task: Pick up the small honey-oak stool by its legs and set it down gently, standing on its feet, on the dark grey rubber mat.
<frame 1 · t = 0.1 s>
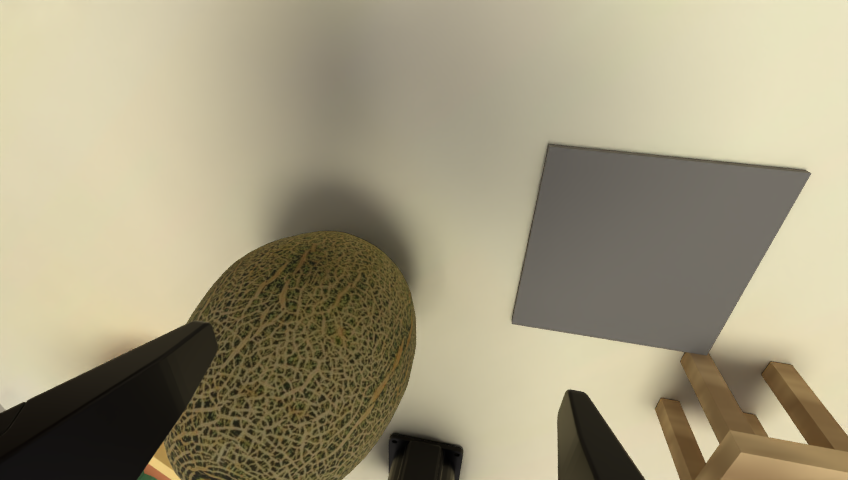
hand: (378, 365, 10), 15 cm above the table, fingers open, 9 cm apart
fruit: (354, 269, 28), on the table
mat: (634, 257, 23), on the table
stool: (718, 388, 27), on the table
potted cactus: (187, 400, 40), on the table
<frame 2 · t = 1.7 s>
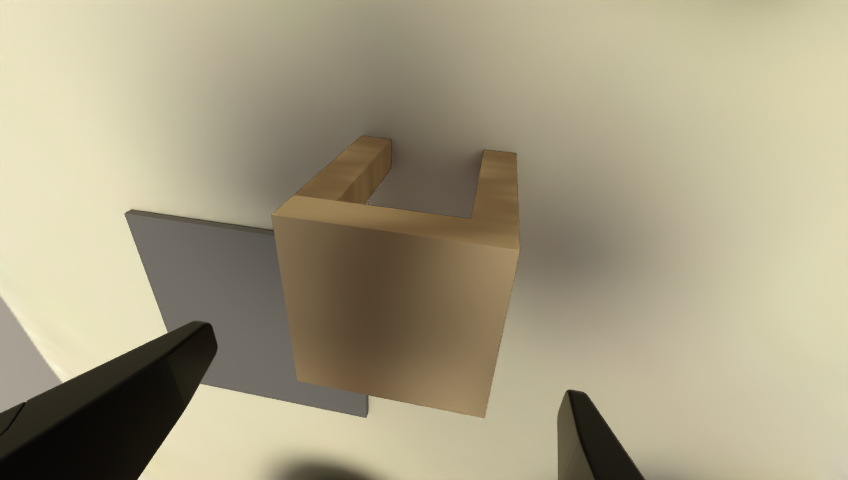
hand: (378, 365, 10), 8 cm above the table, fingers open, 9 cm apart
mat: (261, 321, 22), on the table
stool: (431, 214, 17), on the table
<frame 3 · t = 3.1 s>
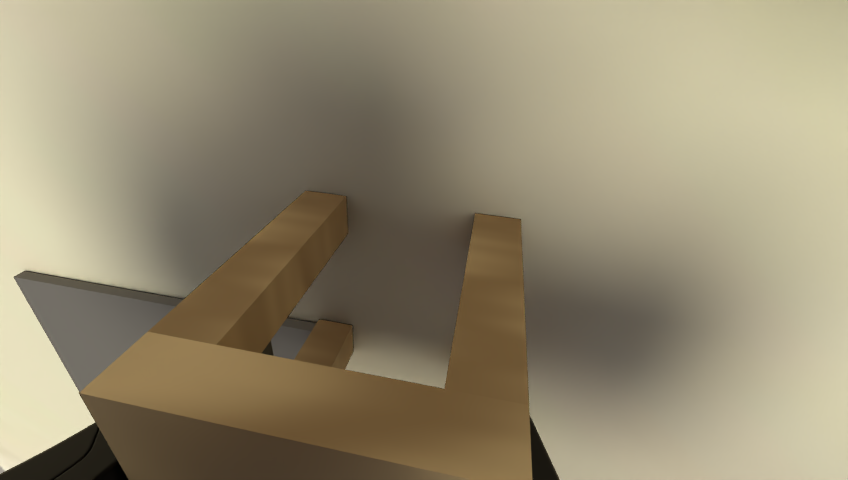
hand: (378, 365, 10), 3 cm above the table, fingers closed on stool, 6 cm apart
mat: (201, 402, 18), on the table
stool: (405, 291, 12), on the table, touching gripper, mat
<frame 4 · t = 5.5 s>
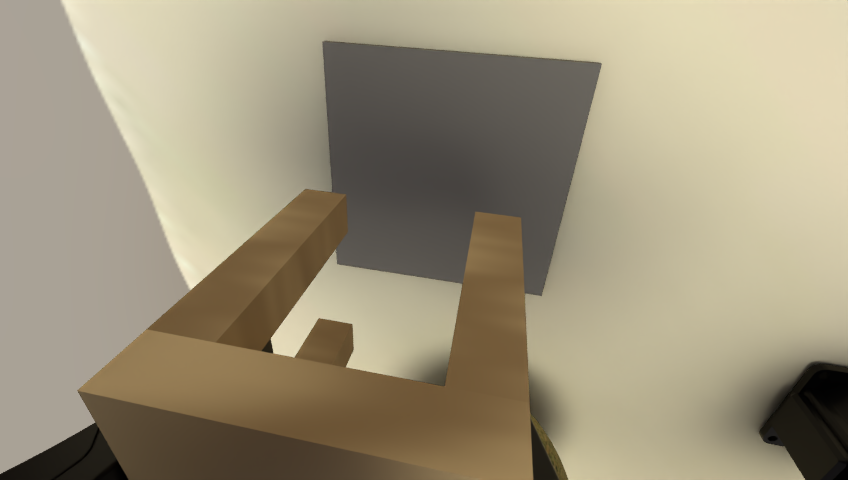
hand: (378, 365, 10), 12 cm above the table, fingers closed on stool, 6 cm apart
fruit: (481, 406, 29), on the table
mat: (445, 180, 21), on the table
stool: (405, 290, 12), point 9 cm above the table, touching gripper
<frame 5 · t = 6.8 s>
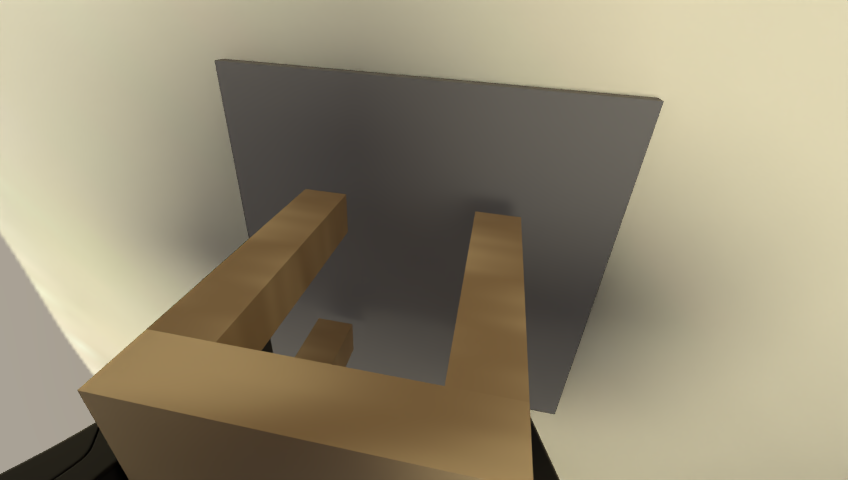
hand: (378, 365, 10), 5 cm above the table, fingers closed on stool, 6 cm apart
mat: (415, 260, 14), on the table
stool: (405, 290, 12), point 2 cm above the table, touching gripper
when the fingers open (5 cm above the table, at t = 7.7 s): stool drops 1 cm, resting on mat.
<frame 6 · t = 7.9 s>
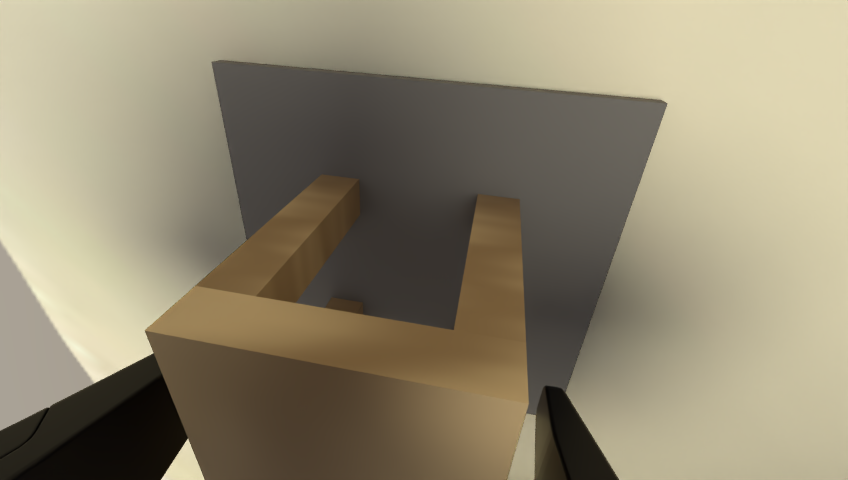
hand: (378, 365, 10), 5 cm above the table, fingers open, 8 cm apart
mat: (415, 264, 14), on the table
stool: (413, 269, 13), resting on mat
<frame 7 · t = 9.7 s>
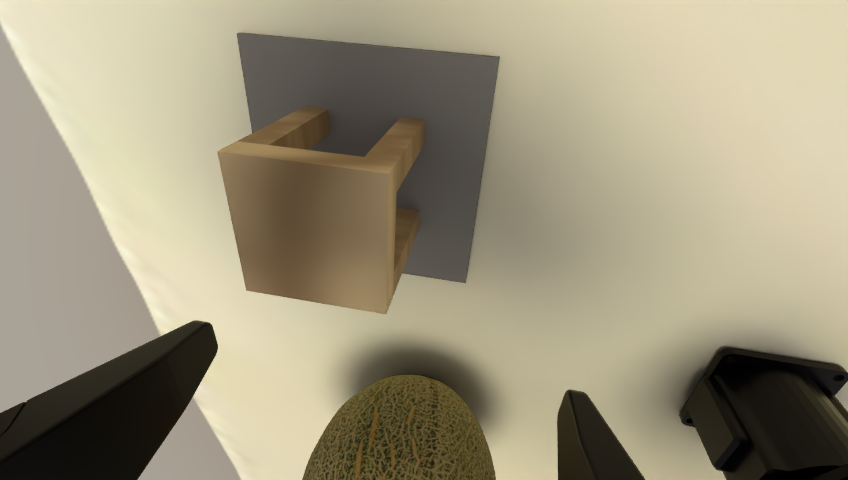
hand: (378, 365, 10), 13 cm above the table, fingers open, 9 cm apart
fruit: (421, 392, 30), on the table
mat: (366, 170, 21), on the table
stool: (364, 171, 21), resting on mat
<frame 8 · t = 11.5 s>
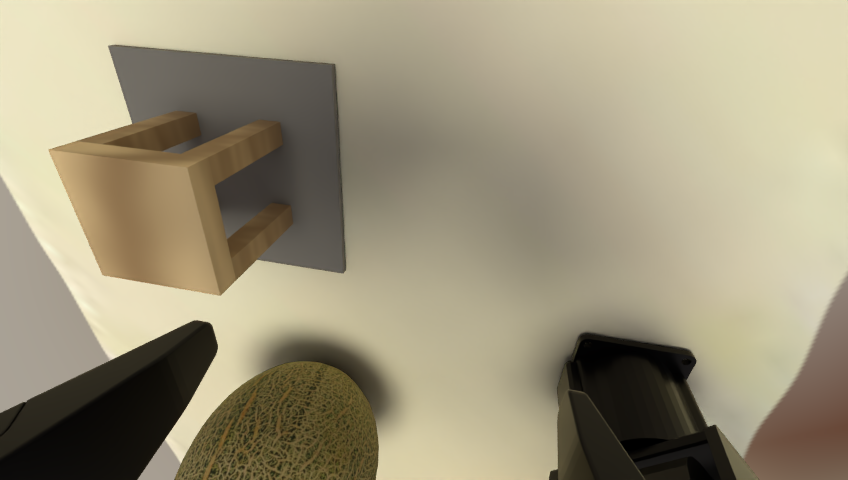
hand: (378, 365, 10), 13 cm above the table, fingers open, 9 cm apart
fruit: (328, 379, 31), on the table
mat: (241, 168, 23), on the table
stool: (237, 170, 23), resting on mat
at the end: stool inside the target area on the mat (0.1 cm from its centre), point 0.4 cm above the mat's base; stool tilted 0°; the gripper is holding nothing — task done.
